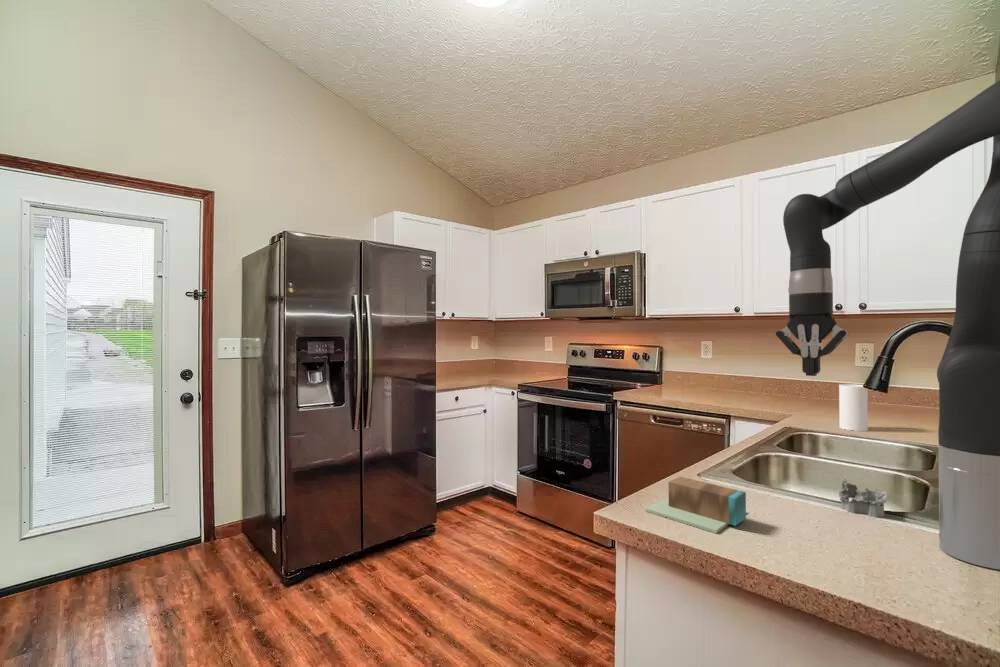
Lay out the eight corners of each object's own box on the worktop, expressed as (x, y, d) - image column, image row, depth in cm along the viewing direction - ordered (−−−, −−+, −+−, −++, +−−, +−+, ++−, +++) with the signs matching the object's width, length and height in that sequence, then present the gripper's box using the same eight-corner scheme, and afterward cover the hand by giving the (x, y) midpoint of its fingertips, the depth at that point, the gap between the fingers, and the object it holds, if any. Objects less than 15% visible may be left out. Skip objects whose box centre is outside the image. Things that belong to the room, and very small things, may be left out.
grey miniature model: (842, 496, 99) (842, 478, 99) (888, 505, 94) (887, 485, 94) (836, 511, 91) (836, 490, 91) (885, 521, 86) (885, 499, 86)
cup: (842, 425, 171) (841, 383, 171) (869, 428, 165) (869, 385, 165) (837, 428, 166) (836, 385, 166) (865, 432, 160) (865, 387, 160)
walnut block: (745, 492, 86) (680, 476, 96) (735, 498, 83) (668, 481, 93) (745, 518, 86) (680, 499, 96) (735, 525, 83) (668, 506, 93)
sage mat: (745, 512, 91) (745, 509, 91) (716, 533, 81) (716, 530, 81) (678, 494, 101) (678, 491, 101) (645, 511, 92) (645, 508, 92)
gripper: (854, 290, 91) (854, 376, 91) (780, 295, 101) (781, 372, 101) (845, 288, 86) (846, 379, 86) (768, 293, 96) (769, 374, 96)
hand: (811, 375), depth 94 cm, fingers closed
